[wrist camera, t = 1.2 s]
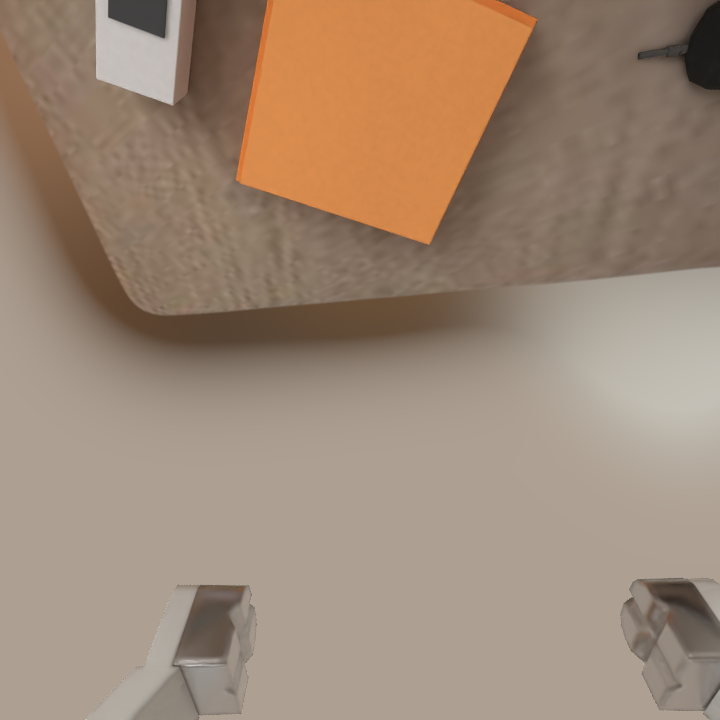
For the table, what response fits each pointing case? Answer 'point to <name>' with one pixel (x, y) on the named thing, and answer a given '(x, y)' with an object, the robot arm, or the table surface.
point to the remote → (146, 46)
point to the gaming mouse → (699, 51)
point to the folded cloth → (376, 103)
